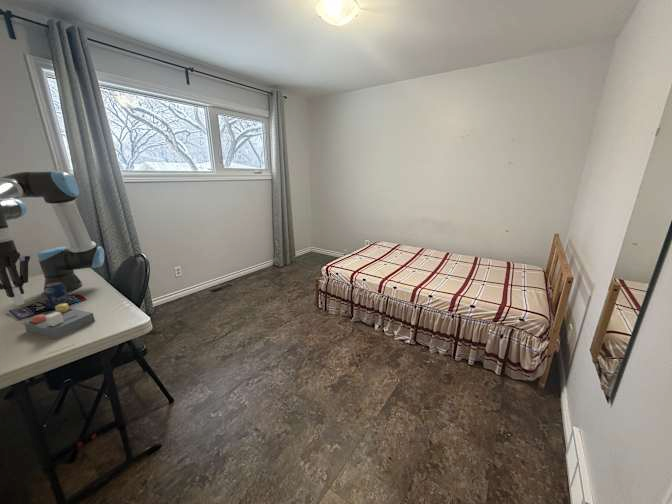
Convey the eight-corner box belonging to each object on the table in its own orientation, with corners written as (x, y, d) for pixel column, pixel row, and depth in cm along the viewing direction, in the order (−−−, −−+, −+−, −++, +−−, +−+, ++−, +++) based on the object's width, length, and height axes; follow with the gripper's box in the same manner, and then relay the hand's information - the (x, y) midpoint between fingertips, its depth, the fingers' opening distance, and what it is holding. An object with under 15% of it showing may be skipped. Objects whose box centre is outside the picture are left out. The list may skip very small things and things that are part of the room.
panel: (27, 331, 110) (23, 322, 109) (68, 314, 123) (65, 306, 122) (54, 339, 105) (51, 330, 104) (95, 321, 118) (92, 312, 117)
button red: (30, 324, 110) (28, 318, 109) (43, 319, 113) (41, 313, 113) (37, 326, 109) (34, 319, 108) (49, 321, 112) (47, 315, 111)
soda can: (58, 310, 127) (50, 287, 123) (46, 309, 128) (38, 286, 125) (74, 303, 133) (67, 281, 130) (63, 302, 134) (56, 280, 131)
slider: (48, 325, 107) (44, 316, 106) (59, 320, 110) (56, 311, 109) (53, 326, 106) (50, 317, 105) (64, 321, 109) (61, 313, 108)
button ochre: (54, 312, 117) (52, 306, 116) (65, 308, 120) (63, 302, 120) (60, 314, 116) (58, 308, 115) (71, 309, 119) (69, 303, 118)
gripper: (-28, 246, 84) (-1, 313, 91) (28, 237, 96) (48, 297, 103) (-41, 245, 86) (-13, 310, 93) (16, 236, 98) (36, 295, 105)
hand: (19, 303), depth 98 cm, fingers closed
